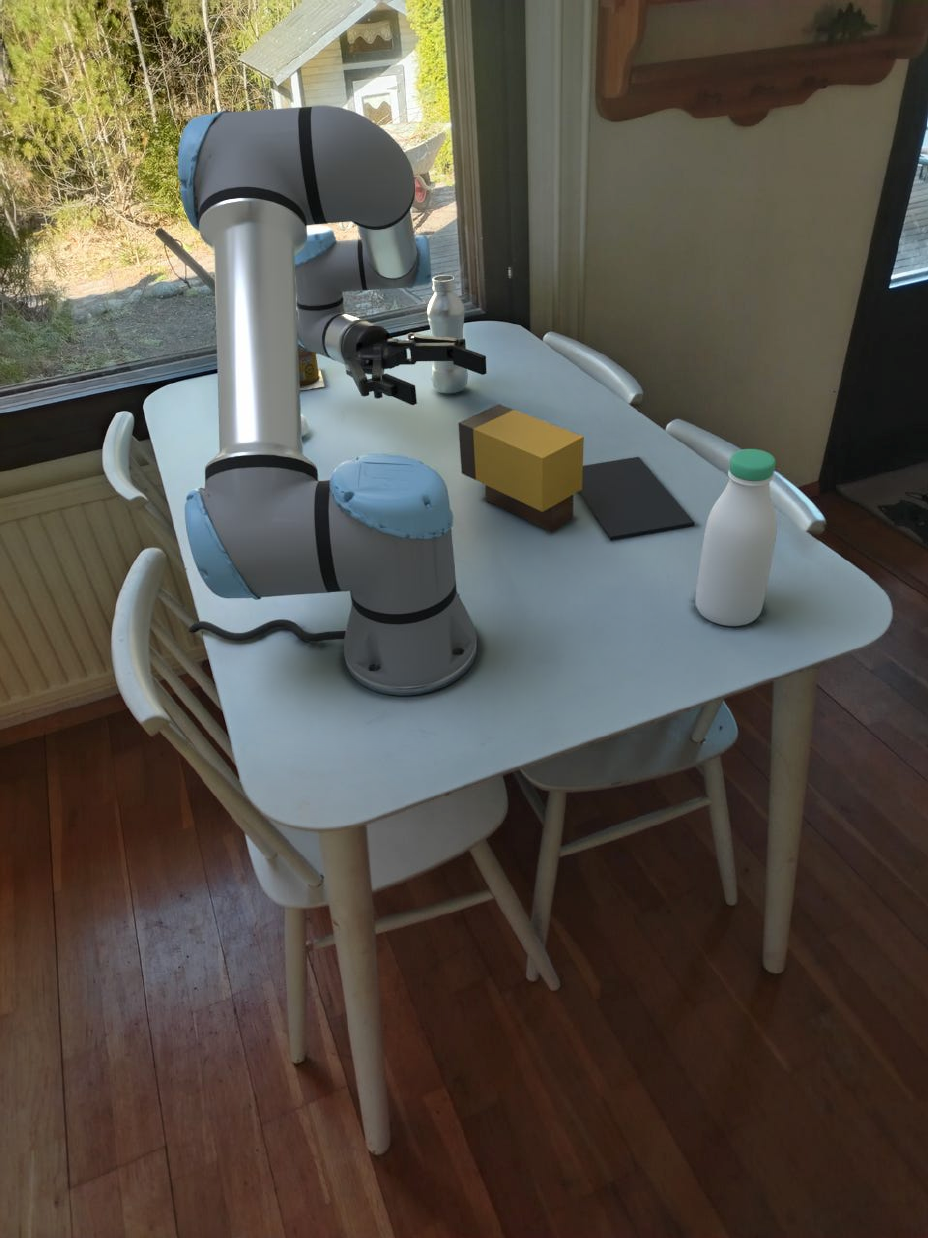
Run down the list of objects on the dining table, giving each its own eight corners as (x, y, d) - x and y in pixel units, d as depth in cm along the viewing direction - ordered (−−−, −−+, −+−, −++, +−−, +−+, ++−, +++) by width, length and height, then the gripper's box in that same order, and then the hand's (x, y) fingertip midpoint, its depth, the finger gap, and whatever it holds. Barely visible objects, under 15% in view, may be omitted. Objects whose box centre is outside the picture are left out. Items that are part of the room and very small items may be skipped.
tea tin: (582, 489, 118) (583, 436, 113) (542, 512, 114) (542, 458, 109) (500, 453, 127) (499, 403, 122) (461, 473, 123) (458, 422, 118)
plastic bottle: (428, 386, 158) (419, 275, 146) (463, 380, 160) (456, 270, 147) (437, 400, 153) (428, 286, 141) (473, 393, 155) (467, 280, 142)
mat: (610, 540, 115) (610, 536, 114) (564, 472, 130) (564, 468, 130) (694, 525, 116) (694, 522, 116) (638, 459, 132) (638, 456, 131)
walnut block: (485, 500, 125) (484, 475, 122) (507, 488, 127) (506, 464, 125) (551, 532, 117) (551, 507, 115) (573, 519, 119) (573, 494, 117)
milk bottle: (763, 630, 98) (795, 476, 86) (694, 625, 100) (716, 473, 87) (759, 591, 104) (788, 442, 92) (694, 586, 105) (714, 439, 93)
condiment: (320, 370, 167) (310, 309, 160) (324, 387, 161) (314, 324, 153) (283, 376, 166) (271, 314, 159) (285, 392, 160) (273, 329, 152)
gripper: (422, 345, 143) (512, 377, 130) (298, 392, 130) (385, 434, 118) (418, 299, 138) (510, 329, 126) (289, 344, 126) (378, 382, 113)
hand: (450, 380), depth 122 cm, fingers open, 13 cm apart
